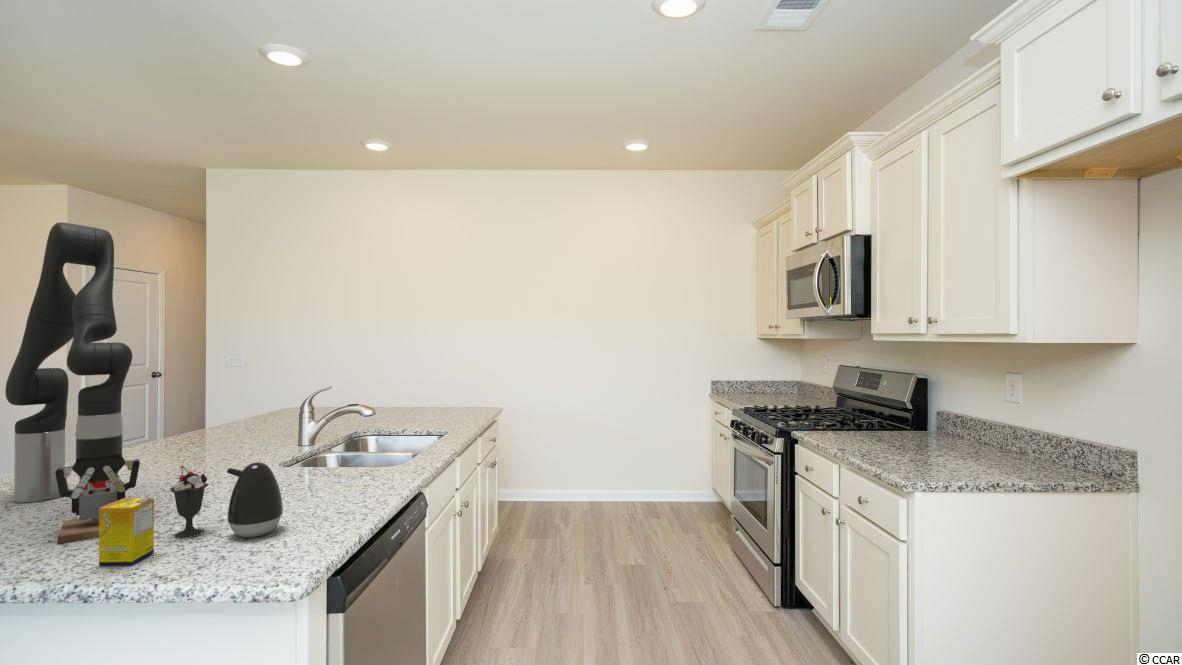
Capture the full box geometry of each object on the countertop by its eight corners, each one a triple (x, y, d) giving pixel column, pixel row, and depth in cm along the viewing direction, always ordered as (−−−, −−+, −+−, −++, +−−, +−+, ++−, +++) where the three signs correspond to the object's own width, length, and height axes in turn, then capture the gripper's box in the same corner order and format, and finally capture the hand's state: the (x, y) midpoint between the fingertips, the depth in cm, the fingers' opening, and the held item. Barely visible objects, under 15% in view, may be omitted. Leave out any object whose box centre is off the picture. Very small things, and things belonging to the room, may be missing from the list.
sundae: (166, 541, 112) (167, 468, 112) (173, 531, 118) (173, 461, 118) (205, 536, 116) (205, 465, 116) (210, 526, 121) (210, 458, 121)
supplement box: (122, 553, 106) (122, 497, 106) (154, 553, 107) (155, 497, 107) (97, 567, 100) (97, 507, 100) (132, 566, 101) (132, 506, 101)
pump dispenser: (232, 528, 121) (232, 459, 121) (285, 522, 124) (286, 455, 124) (220, 545, 111) (221, 470, 111) (278, 538, 115) (279, 466, 115)
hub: (81, 513, 119) (81, 490, 119) (117, 507, 123) (117, 485, 123) (79, 520, 115) (79, 496, 115) (116, 514, 119) (117, 491, 119)
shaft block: (63, 527, 120) (64, 489, 120) (135, 516, 127) (135, 480, 127) (57, 544, 111) (57, 502, 111) (134, 531, 118) (135, 491, 118)
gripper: (142, 428, 127) (141, 501, 127) (55, 435, 117) (54, 513, 117) (142, 433, 121) (141, 509, 121) (51, 441, 112) (50, 523, 112)
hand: (98, 511), depth 119 cm, fingers closed on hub, 6 cm apart
